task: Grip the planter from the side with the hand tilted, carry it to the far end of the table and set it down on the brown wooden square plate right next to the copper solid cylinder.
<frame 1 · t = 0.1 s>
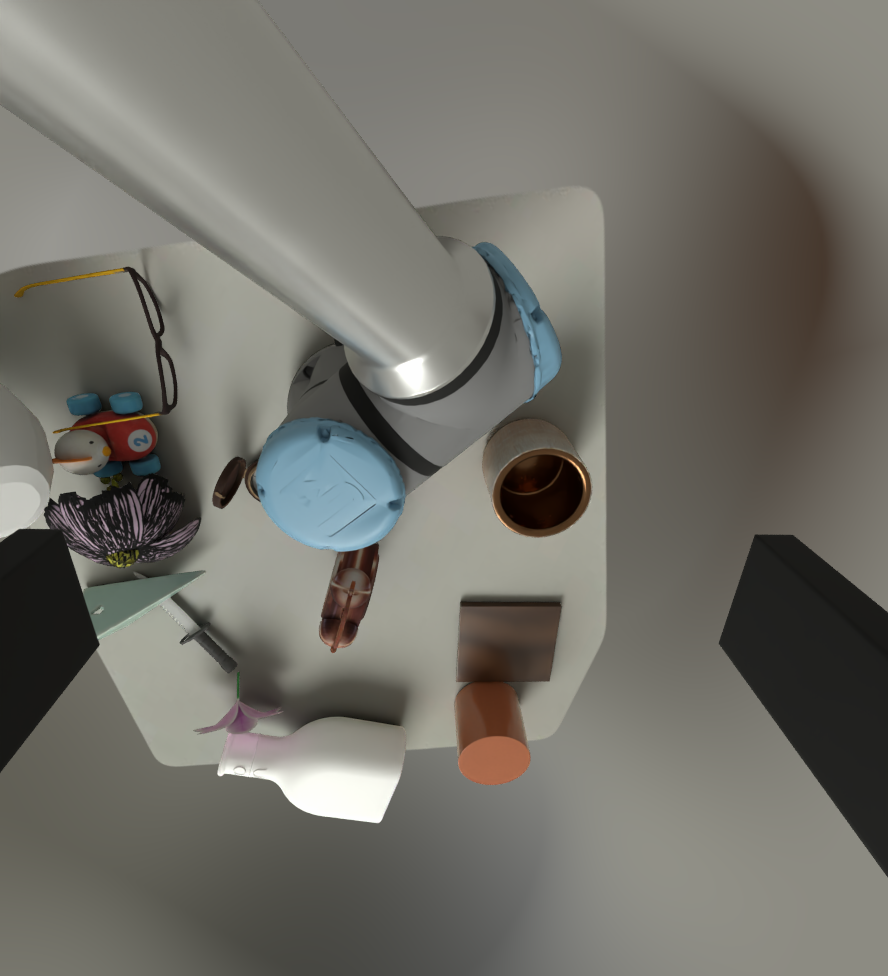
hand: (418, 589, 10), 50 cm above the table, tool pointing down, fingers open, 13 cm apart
alarm clock: (356, 554, 69), on the table
soap bottle: (3, 510, 48), point 15 cm above the table, touching toy car
toy car: (123, 429, 61), on the table, touching eyeglasses, soap bottle
brown wooden square plate: (506, 640, 77), on the table
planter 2: (221, 578, 68), point 1 cm above the table, touching knife
lily: (248, 691, 79), on the table
compass: (269, 469, 64), on the table
planter: (525, 458, 64), on the table
bottle: (314, 737, 83), on the table
knife: (199, 613, 71), point 1 cm above the table, touching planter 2
eyeglasses: (107, 355, 56), point 1 cm above the table, touching toy car
decorative flower: (146, 501, 65), on the table
copper solid cylinder: (486, 703, 82), on the table
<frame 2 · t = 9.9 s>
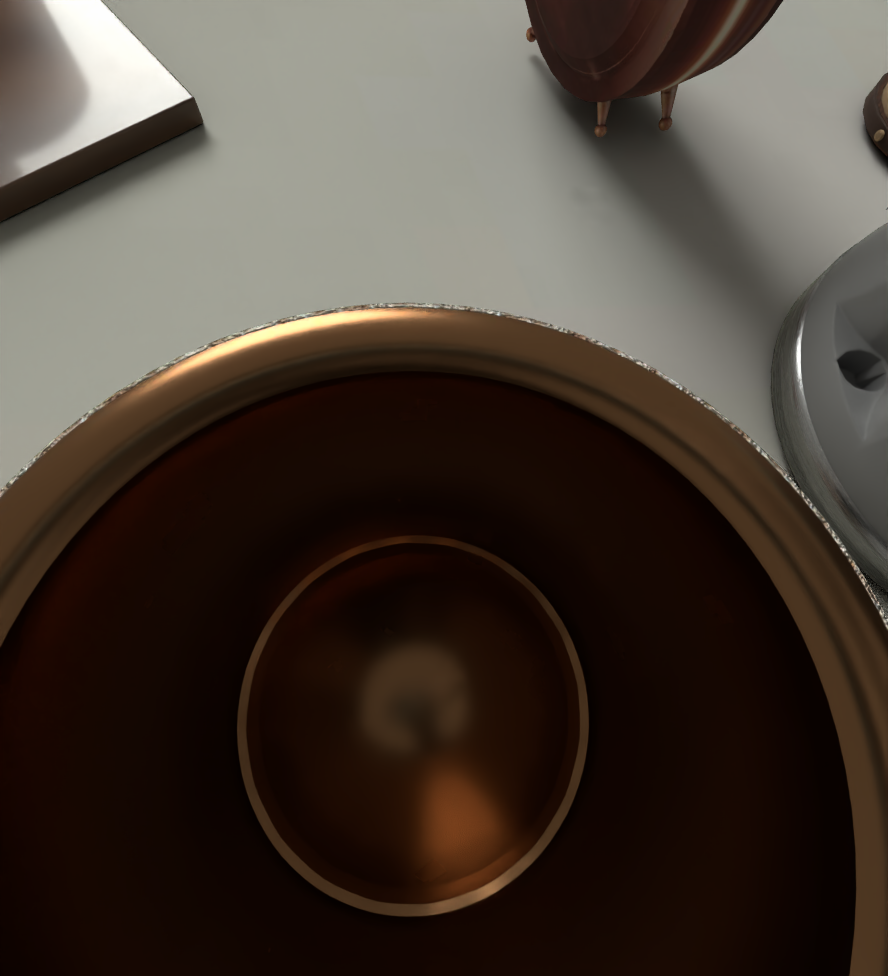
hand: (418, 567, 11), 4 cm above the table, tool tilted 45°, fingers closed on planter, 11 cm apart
alarm clock: (589, 89, 23), on the table
planter: (416, 702, 14), on the table, touching gripper
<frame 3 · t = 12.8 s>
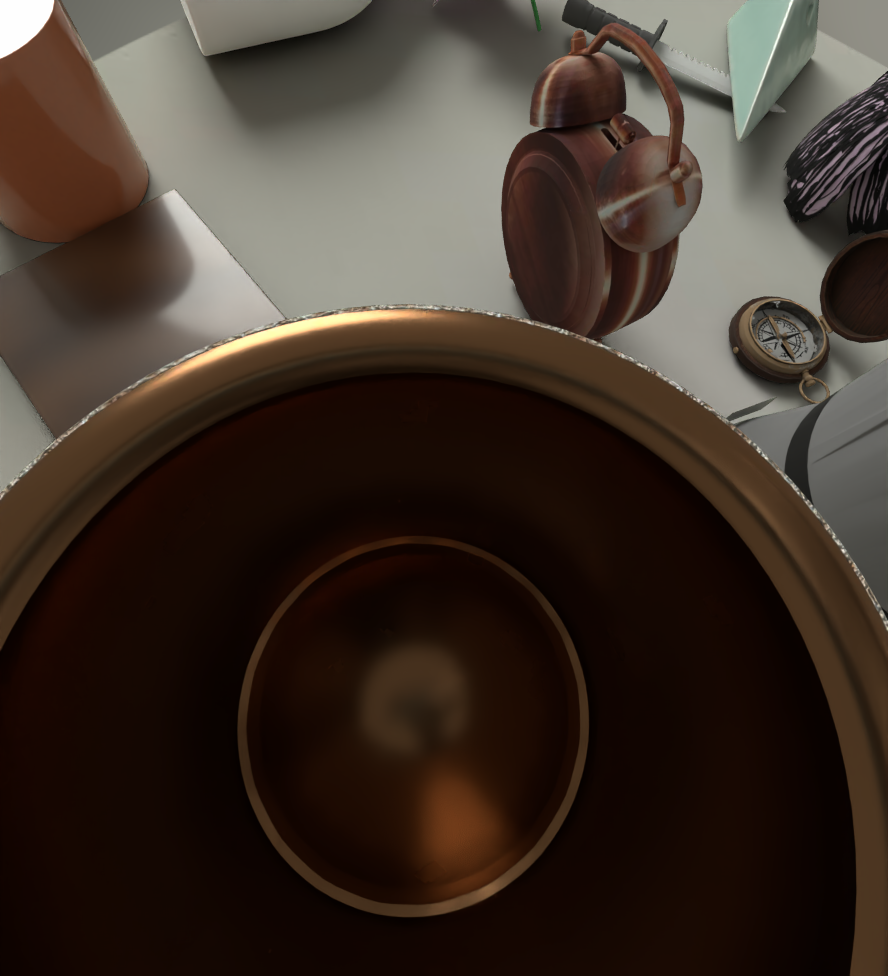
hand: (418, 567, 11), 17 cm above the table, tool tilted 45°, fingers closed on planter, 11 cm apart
alarm clock: (550, 310, 34), on the table
brown wooden square plate: (138, 324, 32), on the table
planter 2: (692, 150, 38), point 1 cm above the table, touching knife
lily: (497, 11, 44), on the table
compass: (788, 355, 34), on the table
planter: (416, 703, 14), point 13 cm above the table, touching gripper
knife: (664, 78, 40), point 1 cm above the table, touching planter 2
decorative flower: (868, 204, 39), on the table
copper solid cylinder: (70, 183, 35), on the table
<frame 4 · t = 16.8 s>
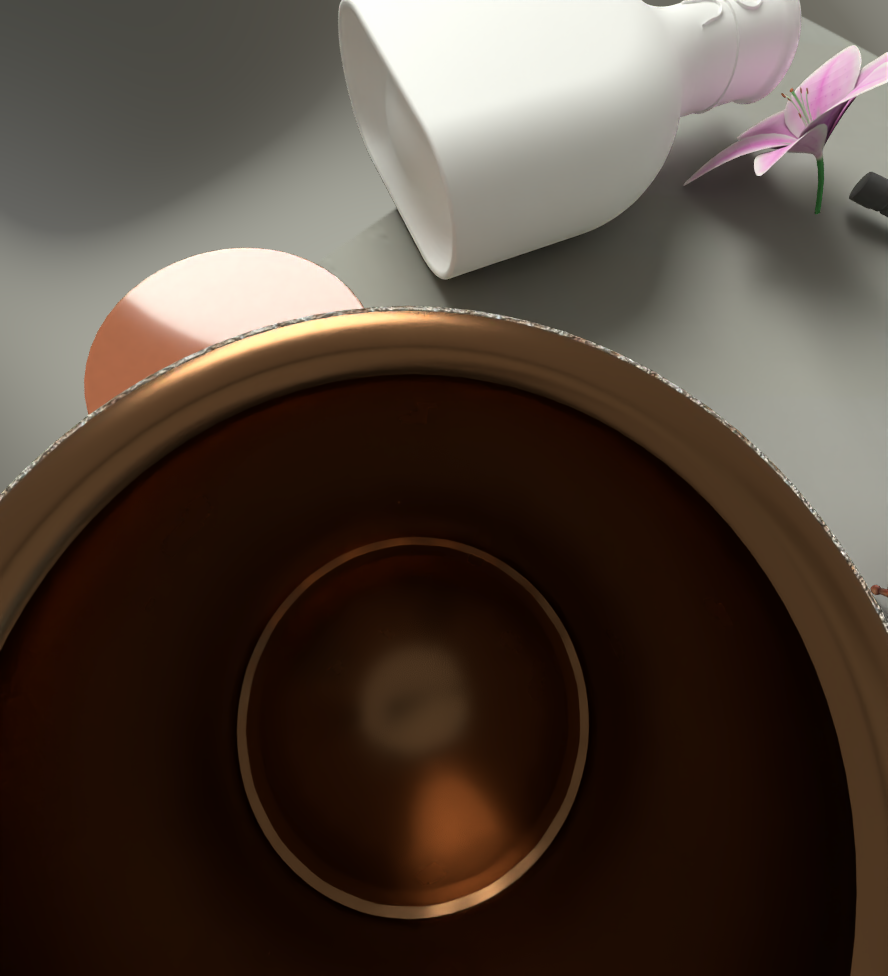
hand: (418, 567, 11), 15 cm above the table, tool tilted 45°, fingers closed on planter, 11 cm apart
lily: (758, 185, 36), on the table
planter: (416, 704, 14), point 11 cm above the table, touching gripper
bottle: (567, 157, 36), on the table
copper solid cylinder: (296, 466, 28), on the table
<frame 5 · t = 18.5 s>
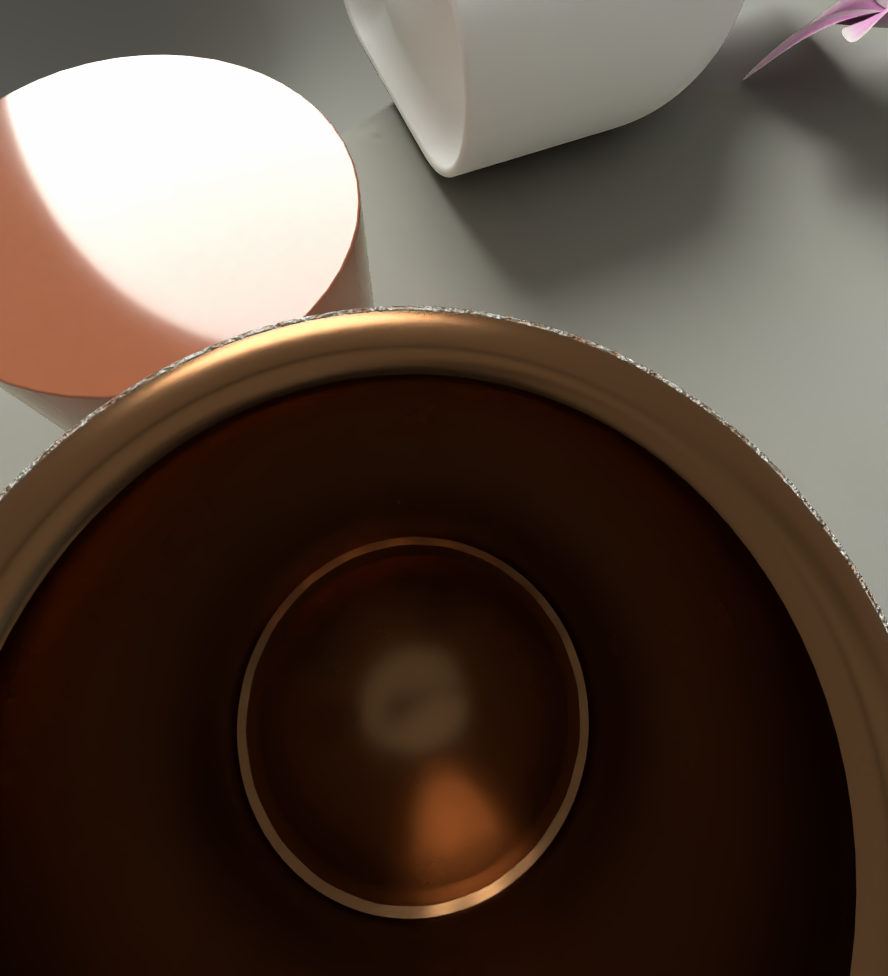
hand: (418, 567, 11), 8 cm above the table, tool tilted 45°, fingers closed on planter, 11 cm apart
lily: (833, 82, 30), on the table
planter: (415, 704, 14), point 4 cm above the table, touching gripper
bottle: (601, 47, 29), on the table
copper solid cylinder: (262, 409, 21), on the table
when the fingers open (5 cm above the table, at t = 20.1 s): planter stays where it is, resting on brown wooden square plate.
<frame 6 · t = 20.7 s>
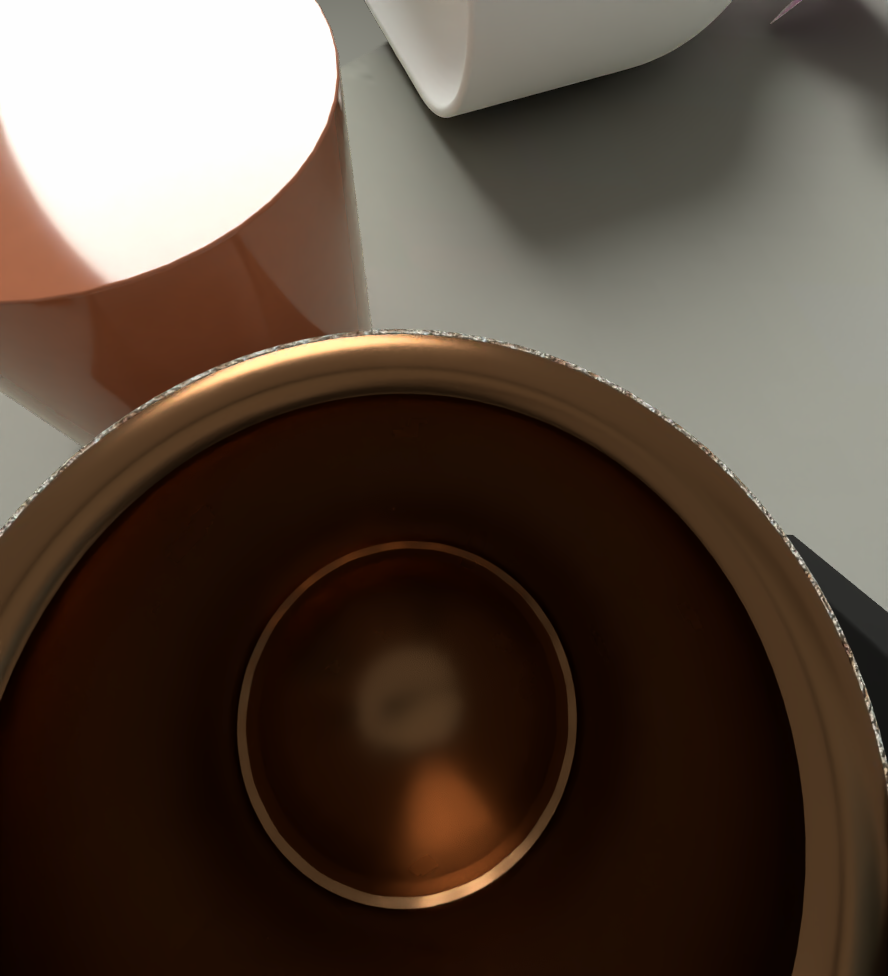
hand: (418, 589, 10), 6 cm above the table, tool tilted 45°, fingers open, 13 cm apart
lily: (866, 29, 27), on the table
planter: (410, 703, 15), point 1 cm above the table, touching brown wooden square plate
copper solid cylinder: (234, 371, 19), on the table
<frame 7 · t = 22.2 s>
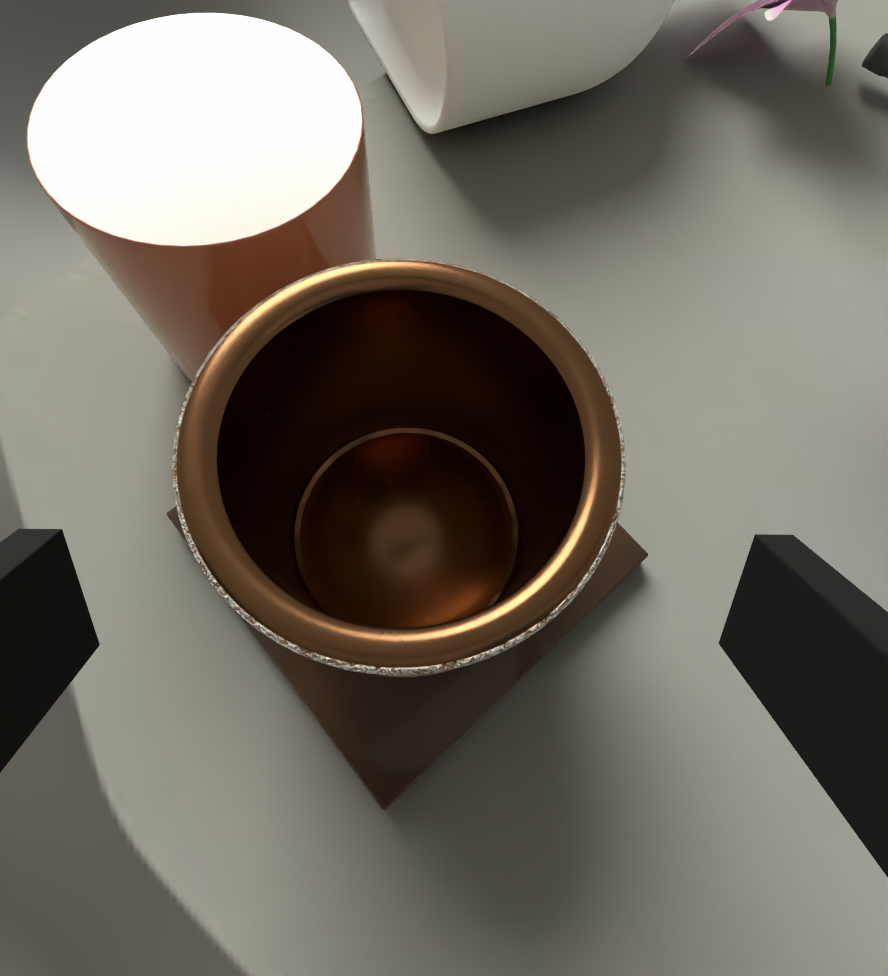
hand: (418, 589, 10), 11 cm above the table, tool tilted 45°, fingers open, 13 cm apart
brown wooden square plate: (410, 539, 22), on the table
lily: (766, 59, 34), on the table
planter: (408, 536, 22), point 1 cm above the table, touching brown wooden square plate
bottle: (566, 27, 34), on the table
copper solid cylinder: (278, 321, 26), on the table
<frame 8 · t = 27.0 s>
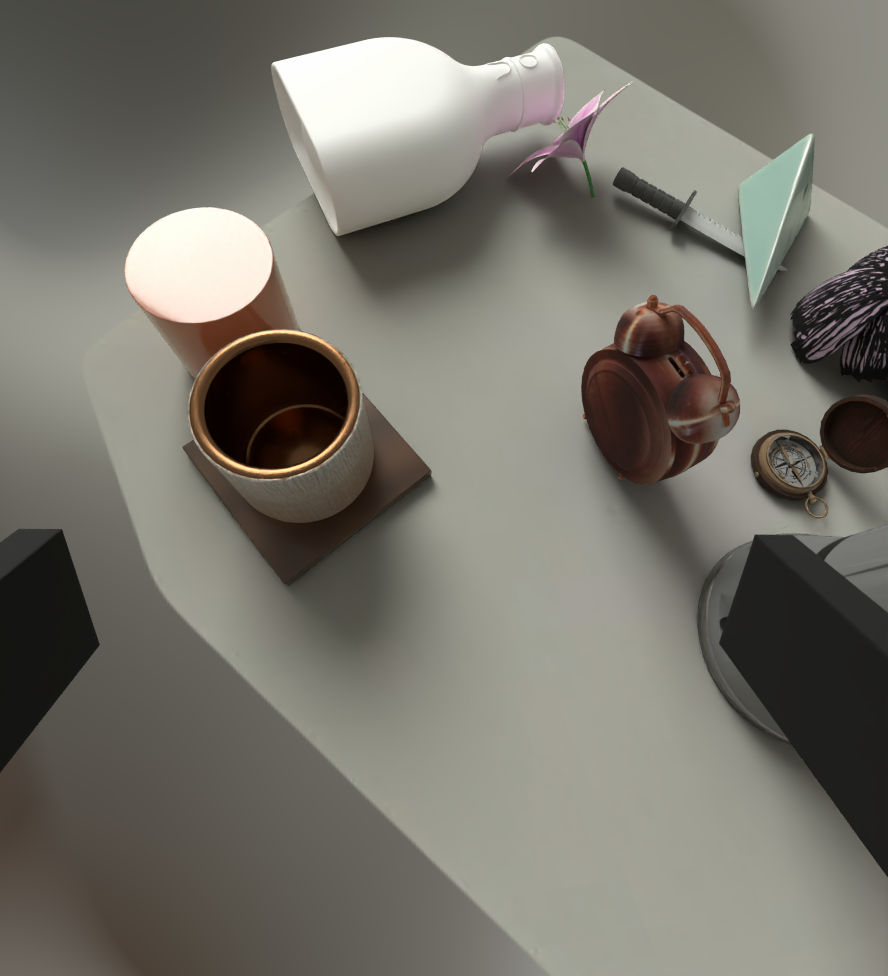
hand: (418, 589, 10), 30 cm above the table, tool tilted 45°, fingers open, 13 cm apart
alarm clock: (614, 442, 45), on the table
brown wooden square plate: (309, 463, 43), on the table
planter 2: (715, 309, 48), point 2 cm above the table, touching knife
lily: (558, 178, 54), on the table
compass: (796, 475, 45), on the table
planter: (306, 460, 42), point 1 cm above the table, touching brown wooden square plate
bottle: (430, 159, 54), on the table
knife: (691, 239, 51), point 1 cm above the table, touching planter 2
decorative flower: (857, 343, 49), on the table
copper solid cylinder: (244, 346, 46), on the table
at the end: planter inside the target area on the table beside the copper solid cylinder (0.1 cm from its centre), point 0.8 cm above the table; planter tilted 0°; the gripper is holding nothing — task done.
